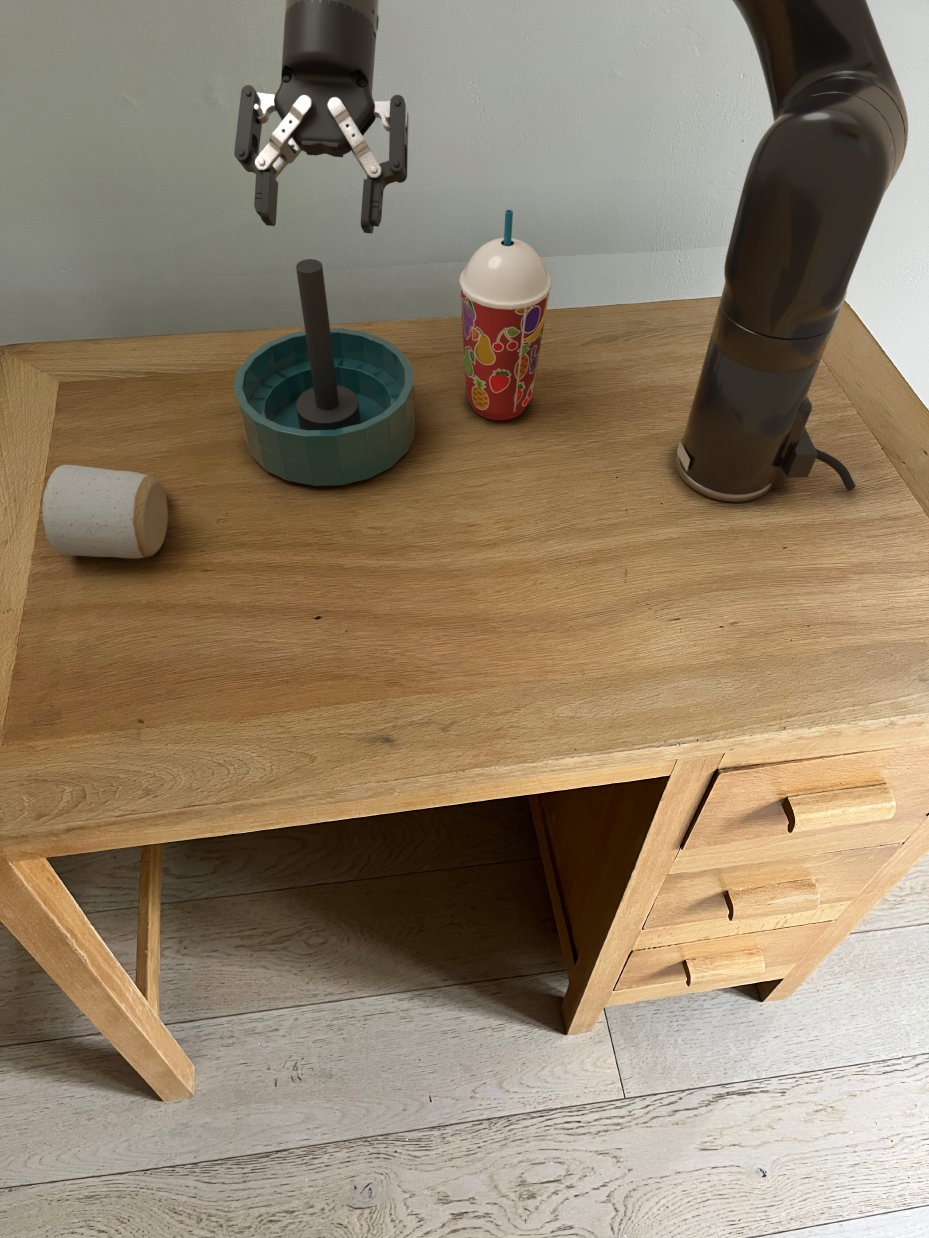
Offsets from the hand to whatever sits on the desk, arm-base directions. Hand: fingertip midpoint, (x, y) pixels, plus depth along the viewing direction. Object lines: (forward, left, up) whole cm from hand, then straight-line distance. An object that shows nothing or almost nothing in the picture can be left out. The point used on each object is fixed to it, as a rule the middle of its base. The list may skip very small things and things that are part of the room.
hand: (317, 226), depth 73 cm
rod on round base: (+1, +4, -18) cm, 19 cm away
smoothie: (-16, 0, -19) cm, 25 cm away
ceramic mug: (+19, +17, -19) cm, 32 cm away
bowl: (+1, +4, -19) cm, 19 cm away
